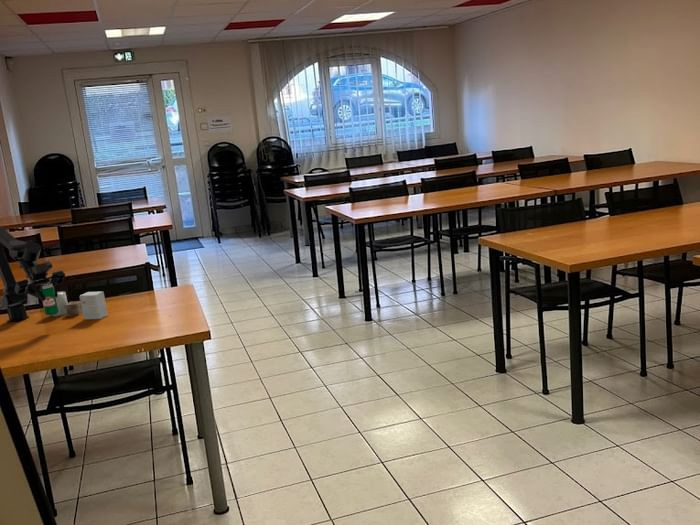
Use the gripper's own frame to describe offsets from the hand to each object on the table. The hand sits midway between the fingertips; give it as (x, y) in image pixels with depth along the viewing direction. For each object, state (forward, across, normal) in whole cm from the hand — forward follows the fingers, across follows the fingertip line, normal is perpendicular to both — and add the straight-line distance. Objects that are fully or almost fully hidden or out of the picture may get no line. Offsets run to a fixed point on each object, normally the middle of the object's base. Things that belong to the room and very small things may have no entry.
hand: (50, 298), depth 258 cm
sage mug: (-7, +14, +26) cm, 30 cm away
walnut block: (-1, +16, +20) cm, 26 cm away
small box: (+9, +17, +10) cm, 22 cm away
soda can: (+4, 0, +6) cm, 7 cm away
